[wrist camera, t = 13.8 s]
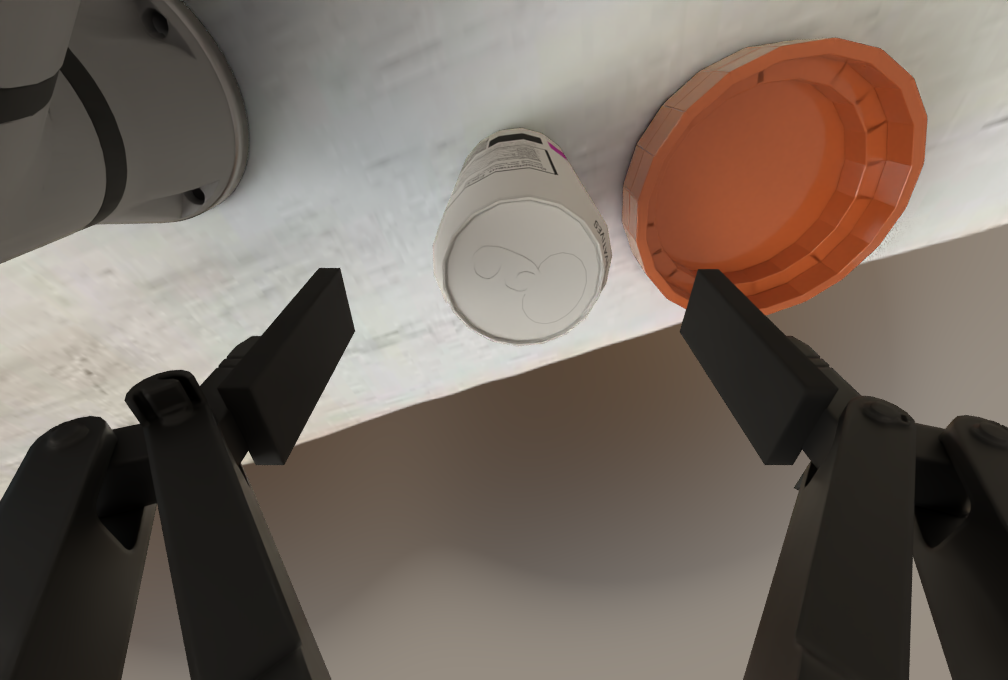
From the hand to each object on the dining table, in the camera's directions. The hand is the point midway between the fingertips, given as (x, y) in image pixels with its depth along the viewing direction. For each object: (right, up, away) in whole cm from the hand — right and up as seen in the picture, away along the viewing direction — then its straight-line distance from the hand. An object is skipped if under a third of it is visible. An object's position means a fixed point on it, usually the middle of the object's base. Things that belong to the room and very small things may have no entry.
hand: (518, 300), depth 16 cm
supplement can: (0, +10, +15) cm, 18 cm away
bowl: (+17, +10, +14) cm, 24 cm away
